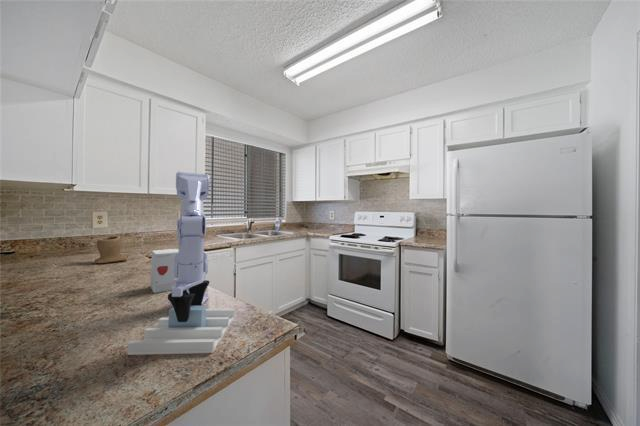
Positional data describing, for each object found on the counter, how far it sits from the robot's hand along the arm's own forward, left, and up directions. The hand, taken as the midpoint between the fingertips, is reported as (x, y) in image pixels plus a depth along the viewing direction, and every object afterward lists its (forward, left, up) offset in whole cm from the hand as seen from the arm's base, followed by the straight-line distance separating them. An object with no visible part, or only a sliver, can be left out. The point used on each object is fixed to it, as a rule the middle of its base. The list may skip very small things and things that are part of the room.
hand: (189, 314), depth 63 cm
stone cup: (-82, -78, -5) cm, 113 cm away
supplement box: (-36, -25, -5) cm, 44 cm away
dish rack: (0, 0, -5) cm, 5 cm away
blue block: (0, 0, -4) cm, 4 cm away
